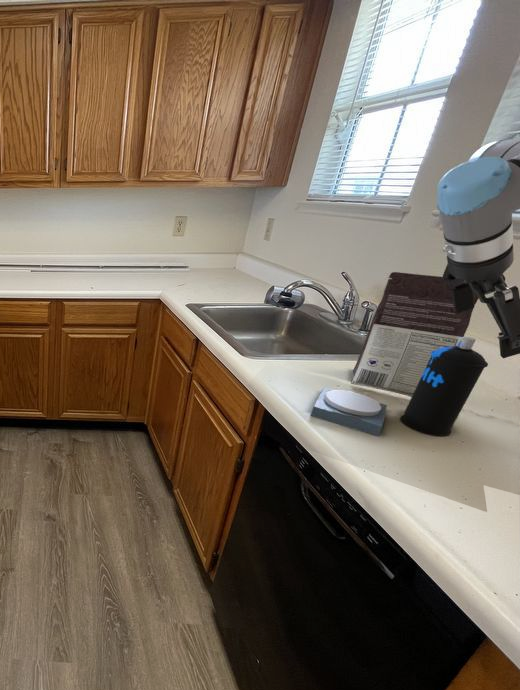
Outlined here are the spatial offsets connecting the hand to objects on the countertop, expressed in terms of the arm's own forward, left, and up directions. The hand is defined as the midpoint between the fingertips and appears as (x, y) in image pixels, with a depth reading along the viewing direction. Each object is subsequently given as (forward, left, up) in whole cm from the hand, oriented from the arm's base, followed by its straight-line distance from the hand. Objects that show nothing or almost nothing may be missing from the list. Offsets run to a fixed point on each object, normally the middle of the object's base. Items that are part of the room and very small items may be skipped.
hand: (486, 330), depth 80 cm
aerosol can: (+2, +3, -22) cm, 22 cm away
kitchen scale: (+15, +9, -21) cm, 28 cm away
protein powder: (+9, -15, -22) cm, 28 cm away
